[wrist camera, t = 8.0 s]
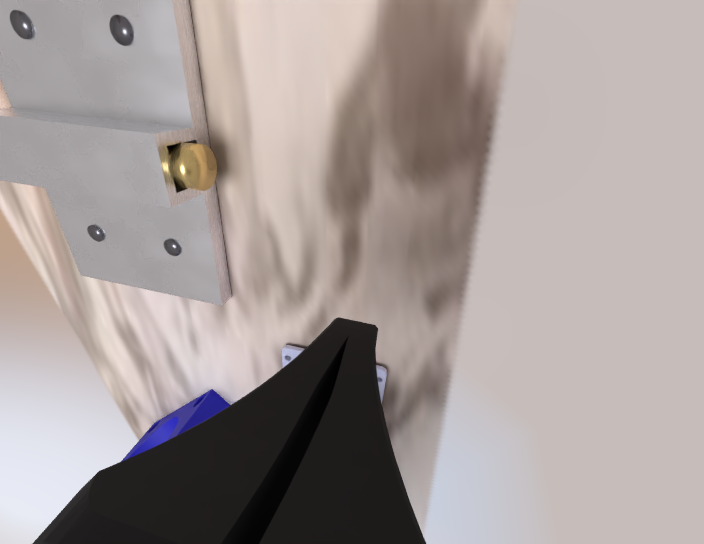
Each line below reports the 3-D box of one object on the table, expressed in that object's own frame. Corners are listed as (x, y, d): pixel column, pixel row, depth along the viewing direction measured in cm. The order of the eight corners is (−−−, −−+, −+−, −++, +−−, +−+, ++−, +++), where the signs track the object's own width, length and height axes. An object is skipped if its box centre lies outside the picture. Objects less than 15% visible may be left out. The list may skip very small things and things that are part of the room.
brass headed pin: (213, 141, 17) (184, 148, 15) (219, 184, 19) (193, 196, 17) (19, 118, 20) (-28, 121, 18) (35, 158, 21) (-7, 165, 19)
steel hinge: (177, -77, 14) (97, -126, 11) (231, 296, 24) (197, 329, 21) (-35, -74, 16) (-157, -116, 13) (94, 267, 26) (44, 294, 23)
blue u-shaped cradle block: (186, 446, 37) (145, 503, 32) (155, 421, 36) (108, 476, 31) (247, 418, 31) (210, 481, 26) (213, 387, 30) (167, 447, 25)
